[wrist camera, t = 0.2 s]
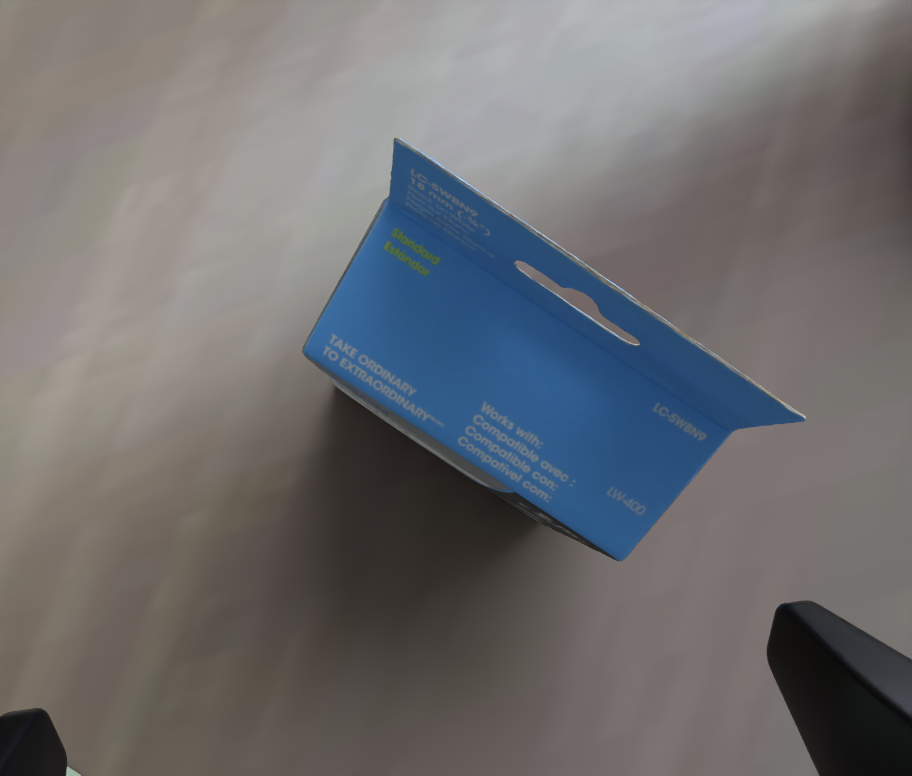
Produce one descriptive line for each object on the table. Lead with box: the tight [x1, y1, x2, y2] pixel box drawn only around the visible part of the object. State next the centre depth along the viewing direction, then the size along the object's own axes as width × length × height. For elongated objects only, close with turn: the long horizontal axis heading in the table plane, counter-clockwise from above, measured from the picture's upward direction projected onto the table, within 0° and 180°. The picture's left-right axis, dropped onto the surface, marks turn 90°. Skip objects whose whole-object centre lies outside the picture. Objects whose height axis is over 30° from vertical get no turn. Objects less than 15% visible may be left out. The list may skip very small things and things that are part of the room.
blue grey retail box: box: [302, 137, 806, 561], centre depth 17 cm, size 9×4×12 cm, turn 56°
